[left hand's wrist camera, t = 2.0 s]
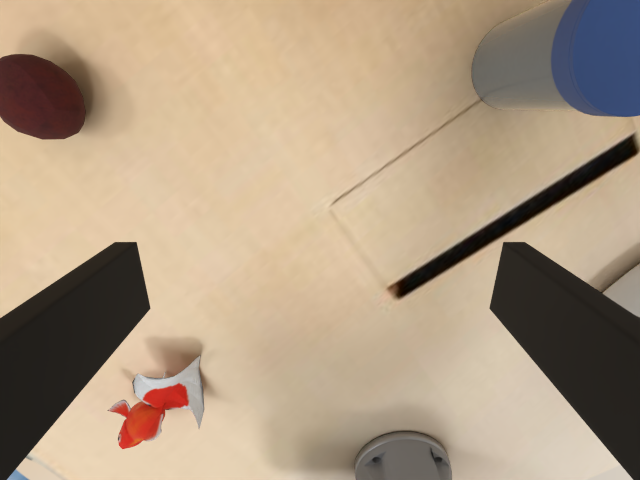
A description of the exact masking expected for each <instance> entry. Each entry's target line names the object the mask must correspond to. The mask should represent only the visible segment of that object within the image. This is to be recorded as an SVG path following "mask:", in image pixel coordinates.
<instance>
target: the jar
mask: <svg viewBox="0 0 640 480" xmlns="http://www.w3.org/2000/svg"><path fill="white" fill-rule="evenodd" d="M571 1H572V0H548V1H546V2H544V3H542V4H540V5H538V6H535V7H533V8H531V9H529V10H527V11H525V12H523V13H520V14H518V15H516V16H514V17H512V18H510V19H507V20H505V21H503V22H501V23H500V24H498V25H497V26H495V27H494V28H493V29H492V30H491V31H490V32H489V33H488V34H487V35H486V36H485V37H484V39H483V40H482V41H481V43H480V45H479V46H478V48H477V51H476V53H475V56H474V59H473V64H472V81H473V85H474V88H475V90H476V93H477V94H478V96H479V97H480V98H481V99H482V101H484V102H485V103H486V104H488V105H489V106H491V107H493V108H497V109H502V110H546V111H578V110H576V109H575V108H573V107H572V106H570V105H569V104H568V103H567V102H566V101H565V100H564V99H563V98H562V96H561V95H560V93H559V92H558V90H557V88H556V85H555V83H554V80H553V76H552V71H551V51H552V45H553V40H554V36H555V33H556V30H557V27H558V25H559V22H560V20H561V18H562V16H563V14H564V12H565V10H566V9H567V7H568V6H569V4H570V3H571Z"/></svg>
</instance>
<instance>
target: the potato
mask: <svg viewBox="0 0 640 480" xmlns="http://www.w3.org/2000/svg"><path fill="white" fill-rule="evenodd" d="M85 113H86V112H85V107H84V101H83V96H82V94H81V92H80V90H79V88H78V86H77V84H76V82H75V81H74V80H73V79H72V78H71V77H70V76H69V75H68V74H67V73H66V72H65V71H64V70H63V69H61V68H60V67H58V66H57V65H55V64H54V63H52V62H51V61H48V60H45V59H43V58H40V57H37V56H34V55H27V54H14V55H8V56H4V57H2V58H0V117H1V118H2V120H3V121H4V122H5V123H7V124H8V125H9V126H11V127H12V128H14V129H15V130H16V131H18V132H21V133H24V134H27V135H30V136H33V137H37V138H40V139H65V138H68V137H70V136H72V135H74V134H77V133H78V132H79V131H80V129H81V128H82V126H83V125H84V120H85Z"/></svg>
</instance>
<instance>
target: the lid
mask: <svg viewBox="0 0 640 480" xmlns="http://www.w3.org/2000/svg"><path fill="white" fill-rule="evenodd" d="M551 71H552V76H553V80H554V83H555V85H556V88H557V90H558V92H559V93H560V95H561V96H562V98H563V99H564V100H565V101H566V102H567V103H568V104H569V105H570V106H572V107H573V108H575V109H576V110H578V111H580V112H583V113H585V114H589V115H595V116H616V117H631V116H639V115H640V0H572V1H571V3H570V4H569V6H568V7H567V9H566V10H565V12H564V14H563V16H562V18H561V20H560V22H559V25H558V27H557V30H556V33H555V36H554V40H553V45H552V51H551Z"/></svg>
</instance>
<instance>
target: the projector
mask: <svg viewBox="0 0 640 480" xmlns="http://www.w3.org/2000/svg"><path fill="white" fill-rule="evenodd" d="M602 294H604V295H605V296H607V297H608V298H610V299H611V300H613V301H614V302H616V303H617V304H619V305H620V306H622V307H623V308H625V309H626V310H628V311H629V312H631V313H632V314H634V315H636V316H638V317H640V264H638V265H637V266H635V267H634V268H633V269H631V270H630V271H629V272H628V273H626V274H625V275H624V276H622V277H621V278H620V279H619V280H617V281H616V282H615V283H614V284H613V285H611V286H610V287H609V288H608V289H607V290H606V291H604V292H603V293H602Z"/></svg>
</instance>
